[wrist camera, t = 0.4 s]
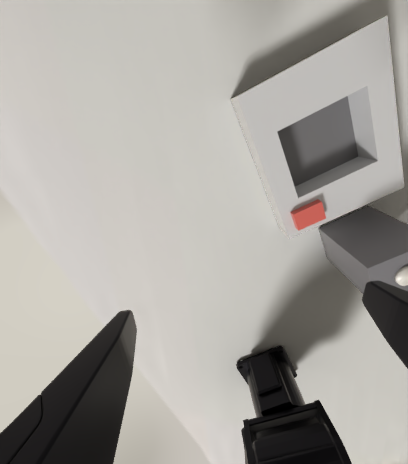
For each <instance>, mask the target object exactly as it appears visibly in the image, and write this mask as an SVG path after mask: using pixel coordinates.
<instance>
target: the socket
mask: <svg viewBox="0 0 408 464" xmlns="http://www.w3.org/2000/svg"><path fill="white" fill-rule="evenodd" d="M231 102H232V105H233V107H234V110H235V112H236V115H237V118H238V120H239V123H240V126H241V128H242V131H243V134H244V136H245V139H246V141H247V144H248V147H249V149H250V152H251V155H252V157H253V160H254V163H255V165H256V168H257V171H258V173H259V176H260V178H261V181H262V184H263V186H264V189H265V192H266V194H267V197H268V200H269V202H270V205H271V207H272V210H273V213H274V215H275V218H276V221H277V223H278V226H279V228H280V229H281V230H282V231H283V232H284V234H285V235H286V236H287V237H288V238H289V239H291V238H293V237H295V236H297V235H300V234H302V233H304V232H306V231H309V230H311V229H313V228H315V227H318V226H320V225H322V224H324V223H326V222H329V221H331V220H333V219H335V218H338V217H340V216H342V215H344V214H347V213H349V212H351V211H353V210H356V209H358V208H360V207H362V206H364V205H367V204H369V203H371V202H373V201H376V200H378V199H380V198H382V197H385V196H387V195H389V194H391V193H394V192H396V191H398V190H400V189H402V188H404V177H403V167H402V157H401V147H400V137H399V127H398V117H397V106H396V96H395V86H394V76H393V66H392V56H391V46H390V36H389V25H388V15H386V16H384V17H382V18H380V19H379V20H377V21H375V22H373V23H371V24H369V25H367V26H365V27H363V28H361V29H359V30H357V31H355V32H353V33H351V34H350V35H348V36H346V37H344V38H342V39H340V40H338V41H337V42H335V43H333V44H331V45H329V46H327V47H326V48H324V49H322V50H320V51H318V52H316V53H315V54H313V55H311V56H309V57H307V58H305V59H303V60H302V61H300V62H298V63H296V64H294V65H292V66H291V67H289V68H287V69H285V70H283V71H281V72H280V73H278V74H276V75H274V76H272V77H270V78H268V79H267V80H265V81H263V82H261V83H259V84H257V85H256V86H254V87H252V88H250V89H248V90H246V91H245V92H243V93H241V94H239V95H237V96H235V97H233V98H232V99H231Z"/></svg>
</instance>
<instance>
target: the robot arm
mask: <svg viewBox="0 0 408 464" xmlns="http://www.w3.org/2000/svg"><path fill="white" fill-rule="evenodd" d="M362 301H363V304H364V306H365V307H366V309H367V311H368V312H369V314H370V315H371V317H372V319H373V320H374V322H375V323H376V325H377V327H378V328H379V330H380V331H381V333H382V335H383V336H384V338H385V339H386V341H387V342H388V343H389V345H390V346H391V347H392V349H393V350H394V351H395V353H396V354H397V355H398V357H399V358H400V359H401V361H402V362H403V363H404V365H405V366H406V367H407V368H408V291H406V290H403V289H400V288H398V287H395V286H393V285H390V284H387V283H385V282H382V281H379V280H376V281H369V282H367V283H366V285H365V289H364V293H363V297H362ZM136 333H137V328H136V324H135V320H134V316H133V313H132V311H131V310H126V311H120V312H119V313H118V314H117V315H116V316H115V317H114V318H113V319H112V320H111V321H110V322H109V323H108V324H107V325H106V326H105V327H104V328H103V329H102V330H101V331H100V332H99V333H98V334H97V336H95V338H94V339H93V340H92V341H91V342H90V343H89V344H88V345H87V346H86V347H85V348H84V349H83V350H82V351H81V352H80V353H79V354H78V355H77V356H76V357H75V358H74V359H73V360H72V361H71V362H70V363H69V364H68V365H67V366H66V368H65V369H64V370H63V371H62V372H61V373H60V374H59V375H58V376H57V377H56V378H55V379H54V380H53V381H52V382H51V383H50V384H49V385H48V386H47V387H46V388H45V389H44V390H43V391H42V393H41V395H38V396H37V397H36V398H35V399H34V400H33V401H32V402H31V404H30V405H29V406H28V407H27V408H26V409H25V410H24V411H23V412H22V413H21V414H20V415H19V416H18V417H17V418H16V419H15V420H14V421H13V422H12V423H11V424H10V425H9V426H8V427H7V428H6V429H4V430H3V432H1V433H0V464H113V462H114V457H115V452H116V447H117V443H118V438H119V434H120V429H121V424H122V420H123V415H124V410H125V406H126V401H127V396H128V391H129V387H130V382H131V377H132V370H133V362H134V352H135V343H136ZM236 366H237V369H238V371H239V372H240V373H241V375H242V376H243V378H244V379H245V381H246V382H247V384H248V385H249V388H250V392H251V396H252V400H253V404H254V409H255V413H256V417H257V418H253V419H250V420H248V419H246V420H243V422H244V428H243V429H242V430H241V431H242V437H243V442H244V449H245V463H246V464H352V463H351V461H350V458H349V456H348V454H347V451H346V449H345V447H344V445H343V443H342V441H341V439H340V437H339V435H338V433H337V431H336V430H335V428H334V426H333V424H332V422H331V421H330V419H329V417H328V415H327V413H326V412H325V410H324V408H323V406H322V404H321V402H320V401H319V400H316V401H314V402H313V403H309V404H306V405H305V402H304V400H303V398H302V395H301V393H300V390H299V388H298V386H297V383H296V381H295V379H294V378H295V377H296V376H297V374H296V371H295V369H294V367H293V365H292V363H291V361H290V359H289V357H288V355H287V353H286V351H285V349H284V347H282V346H279V347H277V348H274V349H271V350H269V351H266V352H264V353H261V354H259V355H256V356H253V357H251V358H248V359H246V360H243V361H241V362H238V363H237V364H236Z"/></svg>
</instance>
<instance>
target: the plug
mask: <svg viewBox="0 0 408 464" xmlns="http://www.w3.org/2000/svg"><path fill="white" fill-rule="evenodd" d="M318 229H319V232H320V235H321V239H322V242H323V246H324V249H325V252H326V256H327V259H328V260H329V261H330V262H331V263H332V264H333V265H334V266H335V267H336V268H337V269H338V270H339V271H340V272H341V273H342V274H343V275H344V276H345V277H346V278H348V279H349V280H350V281H351V282H352V283H353V284H354V285H355V286H356V287H357V288H358V289H359V290H360V291H361V292H362V293H364V289H365V285H366V283H367V282H369V281H376V280H379V281H382V282H385V283H387V284H390V285H393V286H395V287H398V288H400V289H403V290H406V291H408V225H407V224H405V223H403V222H401V221H399V220H397V219H395V218H393V217H391V216H389V215H386V214H384V213H382V212H380V211H378V210H376V209H374V208H372V207H370V206H367V207H365V208H363V209H360V210H358V211H356V212H354V213H351V214H349V215H347V216H345V217H343V218H340V219H338V220H336V221H334V222H331V223H329V224H327V225H325V226H322V227H320V228H318Z"/></svg>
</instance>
